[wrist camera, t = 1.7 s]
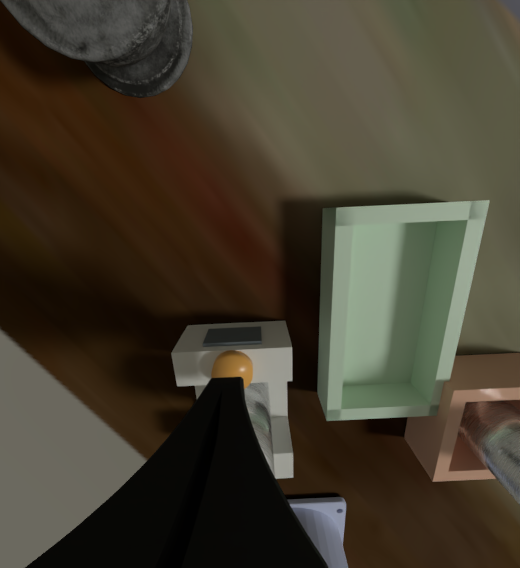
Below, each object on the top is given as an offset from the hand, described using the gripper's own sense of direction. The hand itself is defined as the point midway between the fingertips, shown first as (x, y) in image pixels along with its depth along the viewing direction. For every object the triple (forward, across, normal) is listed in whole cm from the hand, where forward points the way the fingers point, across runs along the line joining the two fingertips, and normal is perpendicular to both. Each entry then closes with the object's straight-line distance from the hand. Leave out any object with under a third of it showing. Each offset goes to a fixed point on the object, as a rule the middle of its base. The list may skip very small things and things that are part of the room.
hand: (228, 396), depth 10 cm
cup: (+5, -15, +6) cm, 17 cm away
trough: (+5, -8, -1) cm, 10 cm away
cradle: (+5, 0, +4) cm, 6 cm away
